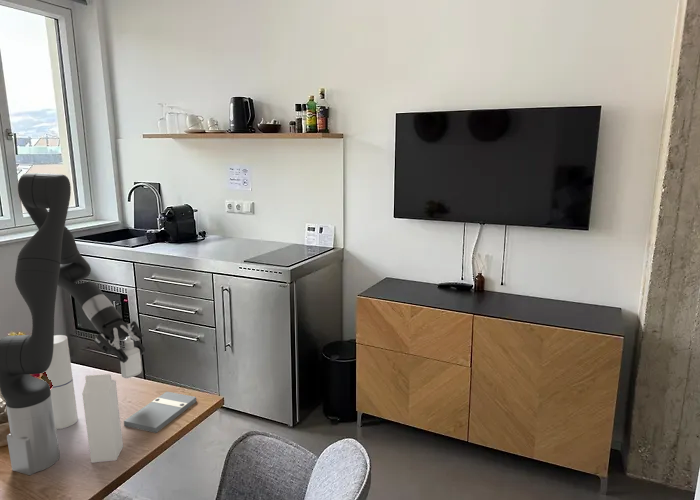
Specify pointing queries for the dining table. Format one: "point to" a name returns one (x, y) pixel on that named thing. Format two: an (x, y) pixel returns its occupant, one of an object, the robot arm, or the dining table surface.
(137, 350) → the eye dropper bottle
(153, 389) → the dining table surface
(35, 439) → the robot arm
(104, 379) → the milk
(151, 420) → the floor panel
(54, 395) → the cylindrical container
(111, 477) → the dining table surface
